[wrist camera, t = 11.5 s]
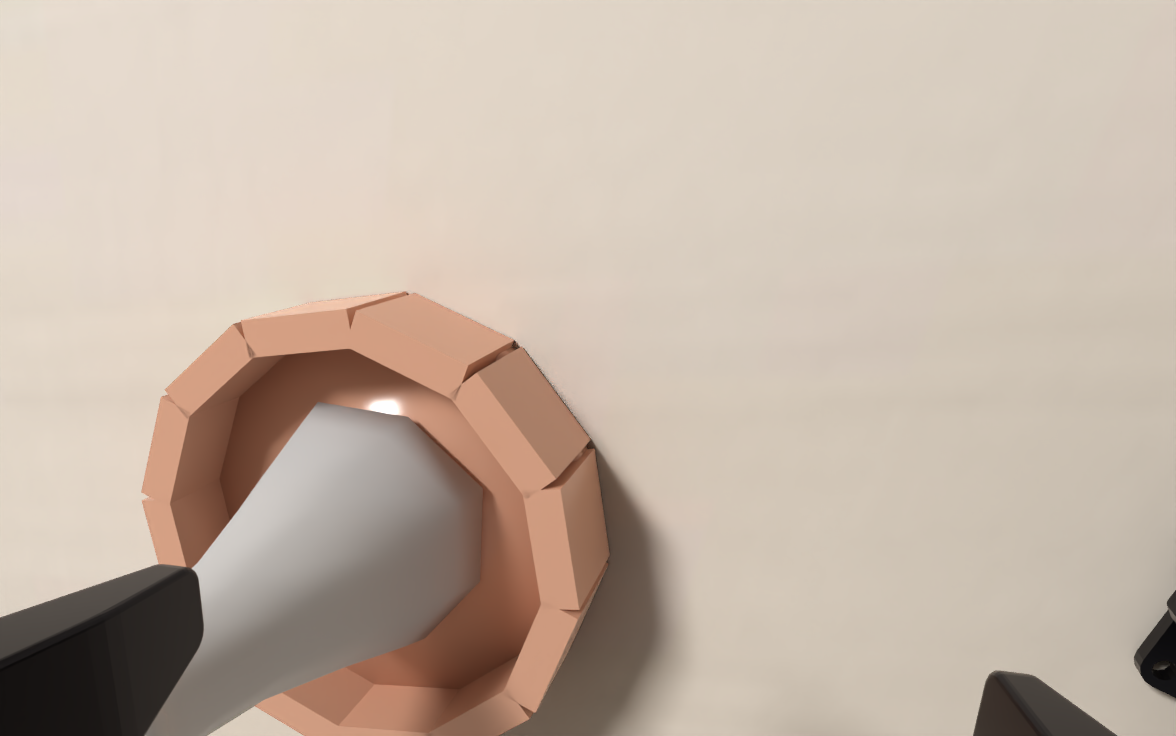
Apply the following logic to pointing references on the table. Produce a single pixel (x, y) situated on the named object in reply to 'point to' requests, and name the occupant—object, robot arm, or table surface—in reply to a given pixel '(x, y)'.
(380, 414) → the flask
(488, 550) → the bowl
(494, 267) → the table surface
